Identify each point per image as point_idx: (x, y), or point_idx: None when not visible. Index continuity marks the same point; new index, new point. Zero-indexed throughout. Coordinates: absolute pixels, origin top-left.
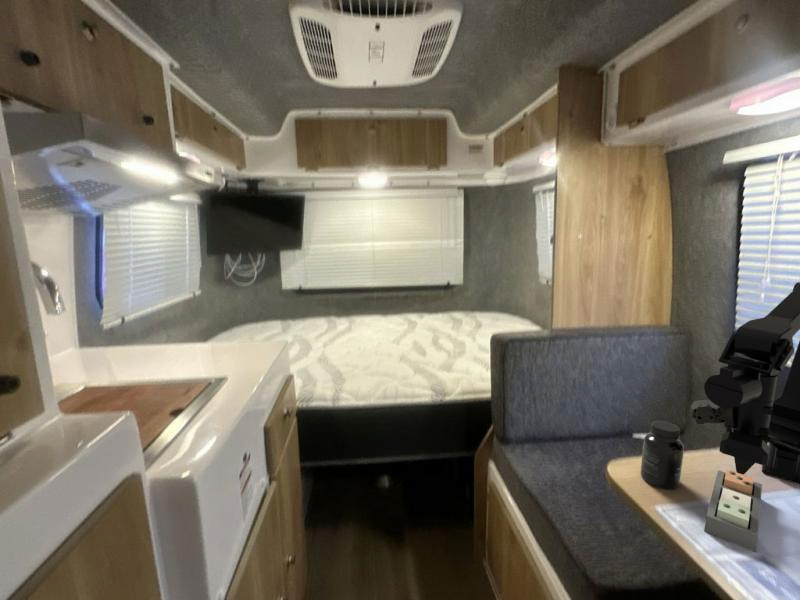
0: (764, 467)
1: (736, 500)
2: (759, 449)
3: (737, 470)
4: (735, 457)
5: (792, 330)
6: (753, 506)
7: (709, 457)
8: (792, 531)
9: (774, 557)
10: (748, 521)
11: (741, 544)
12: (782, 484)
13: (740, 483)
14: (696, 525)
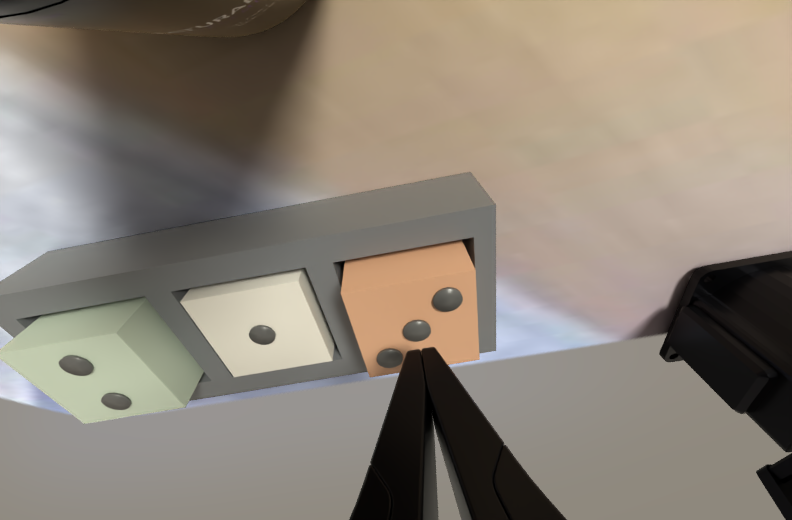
0: (740, 271)
1: (241, 340)
2: None
3: (402, 368)
4: (365, 480)
5: None
6: (277, 372)
7: (783, 47)
8: (354, 380)
9: None
10: (84, 421)
11: None
12: (634, 319)
13: (366, 343)
14: (43, 221)
